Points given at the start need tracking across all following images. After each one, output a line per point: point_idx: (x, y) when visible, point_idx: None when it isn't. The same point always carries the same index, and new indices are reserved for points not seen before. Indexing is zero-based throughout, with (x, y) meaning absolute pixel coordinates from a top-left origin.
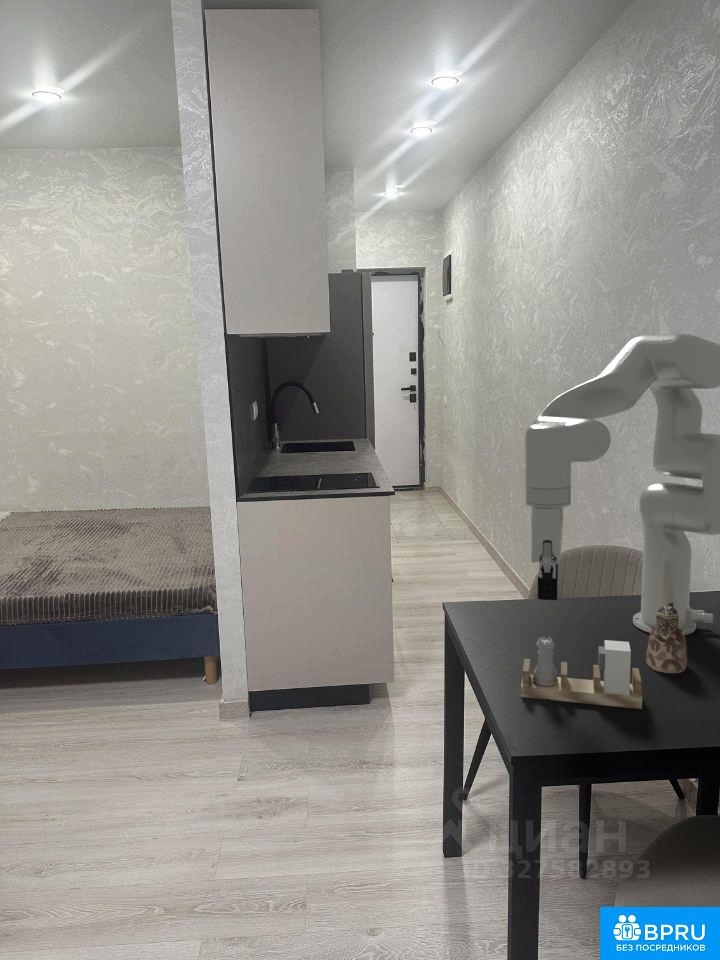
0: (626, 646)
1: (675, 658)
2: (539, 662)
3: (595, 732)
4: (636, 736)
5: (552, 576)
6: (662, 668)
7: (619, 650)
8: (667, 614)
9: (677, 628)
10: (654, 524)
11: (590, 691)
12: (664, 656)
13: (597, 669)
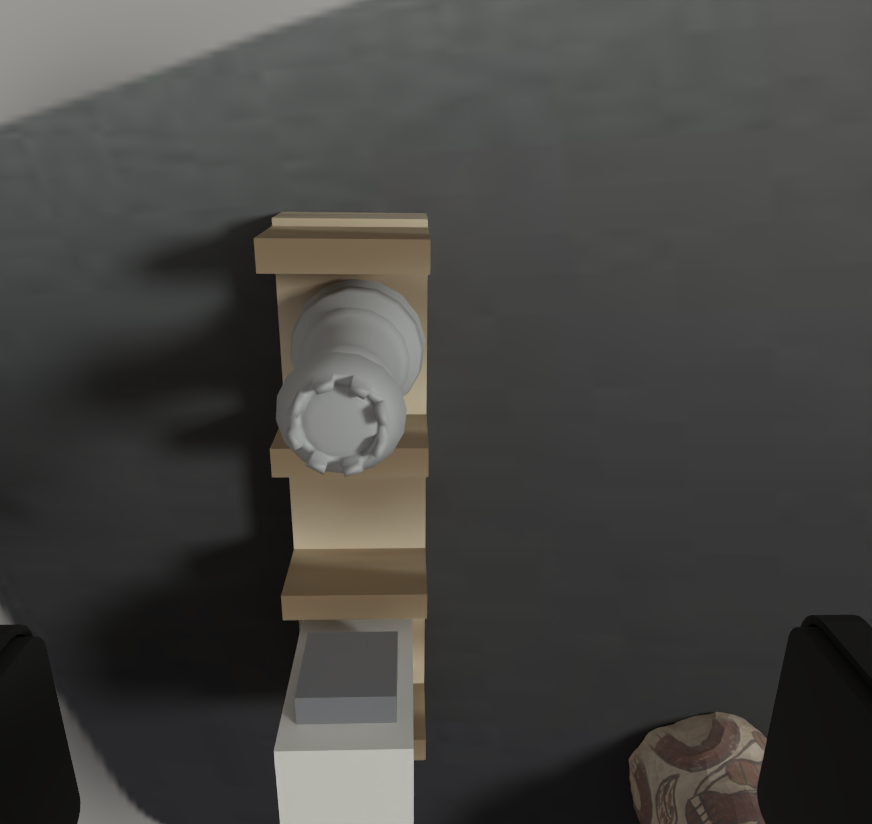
0: None
1: None
2: (321, 343)
3: (71, 523)
4: (99, 648)
5: (792, 808)
6: (637, 766)
7: (282, 807)
8: None
9: None
10: None
11: (308, 536)
12: (661, 813)
13: (372, 610)
